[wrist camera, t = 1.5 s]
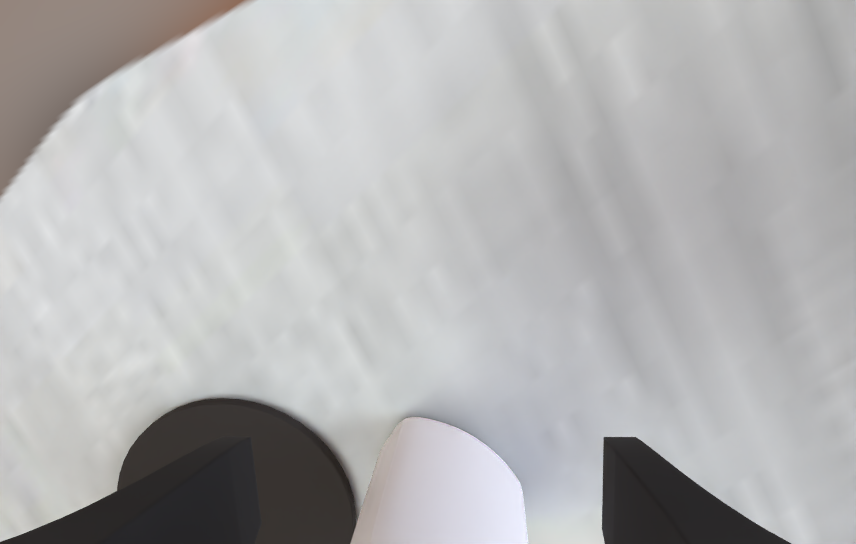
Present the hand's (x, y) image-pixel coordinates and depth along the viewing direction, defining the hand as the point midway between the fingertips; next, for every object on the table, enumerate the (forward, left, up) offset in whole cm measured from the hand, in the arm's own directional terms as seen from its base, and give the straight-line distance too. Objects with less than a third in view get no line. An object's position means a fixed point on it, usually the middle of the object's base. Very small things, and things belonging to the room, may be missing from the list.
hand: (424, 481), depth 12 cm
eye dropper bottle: (-6, 0, -10) cm, 12 cm away
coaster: (-8, +9, -10) cm, 16 cm away
